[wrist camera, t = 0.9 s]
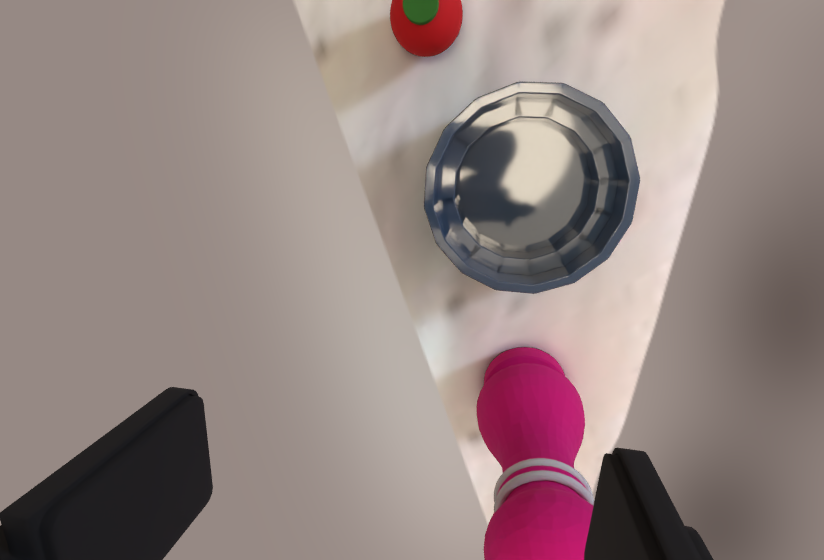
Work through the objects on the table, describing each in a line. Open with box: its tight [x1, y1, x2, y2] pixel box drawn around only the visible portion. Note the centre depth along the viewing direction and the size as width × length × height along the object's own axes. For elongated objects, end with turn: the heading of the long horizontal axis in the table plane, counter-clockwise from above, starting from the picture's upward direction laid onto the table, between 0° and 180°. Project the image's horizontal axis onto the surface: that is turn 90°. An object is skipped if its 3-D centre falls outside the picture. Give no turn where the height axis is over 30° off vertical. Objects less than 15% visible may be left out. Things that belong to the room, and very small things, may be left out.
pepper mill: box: [477, 347, 594, 560], centre depth 25 cm, size 7×7×20 cm
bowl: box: [424, 82, 640, 294], centre depth 28 cm, size 12×12×5 cm
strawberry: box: [390, 0, 463, 57], centre depth 27 cm, size 4×4×5 cm
